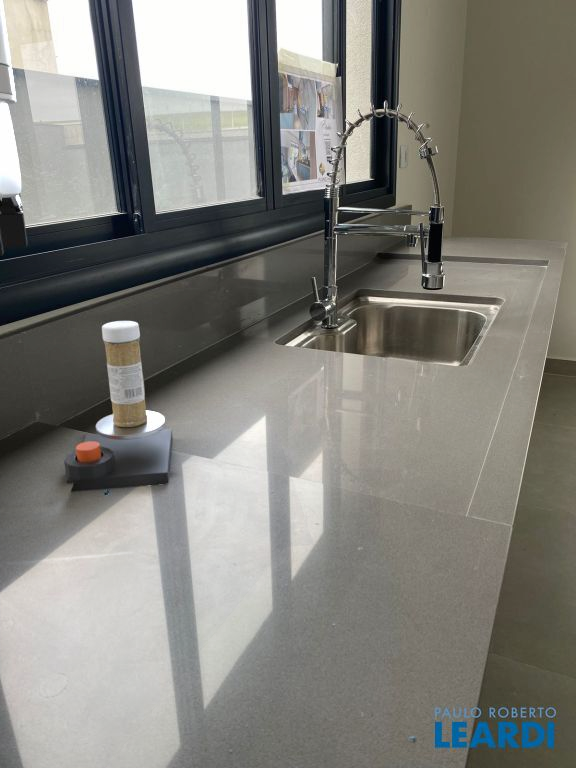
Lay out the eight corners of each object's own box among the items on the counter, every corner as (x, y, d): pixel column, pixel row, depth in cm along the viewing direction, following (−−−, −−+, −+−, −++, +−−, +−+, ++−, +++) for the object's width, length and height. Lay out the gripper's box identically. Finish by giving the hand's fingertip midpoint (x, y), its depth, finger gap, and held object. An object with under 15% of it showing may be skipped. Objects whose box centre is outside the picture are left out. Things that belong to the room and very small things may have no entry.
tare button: (75, 464, 73) (73, 451, 73) (79, 454, 76) (78, 441, 75) (99, 462, 74) (97, 449, 73) (102, 453, 76) (101, 440, 76)
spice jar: (145, 414, 83) (136, 318, 79) (150, 425, 79) (140, 325, 75) (111, 418, 82) (100, 321, 78) (114, 430, 78) (102, 329, 74)
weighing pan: (91, 449, 76) (90, 437, 76) (102, 422, 85) (101, 412, 84) (164, 444, 78) (163, 432, 77) (167, 418, 86) (166, 408, 86)
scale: (64, 494, 73) (60, 468, 71) (84, 445, 86) (81, 422, 85) (168, 486, 74) (166, 460, 73) (172, 439, 88) (171, 417, 87)
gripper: (-33, 96, 71) (-9, 245, 77) (-101, 71, 55) (-65, 261, 60) (33, 97, 72) (52, 243, 78) (-14, 72, 56) (14, 259, 61)
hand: (1, 251), depth 69 cm, fingers open, 9 cm apart
